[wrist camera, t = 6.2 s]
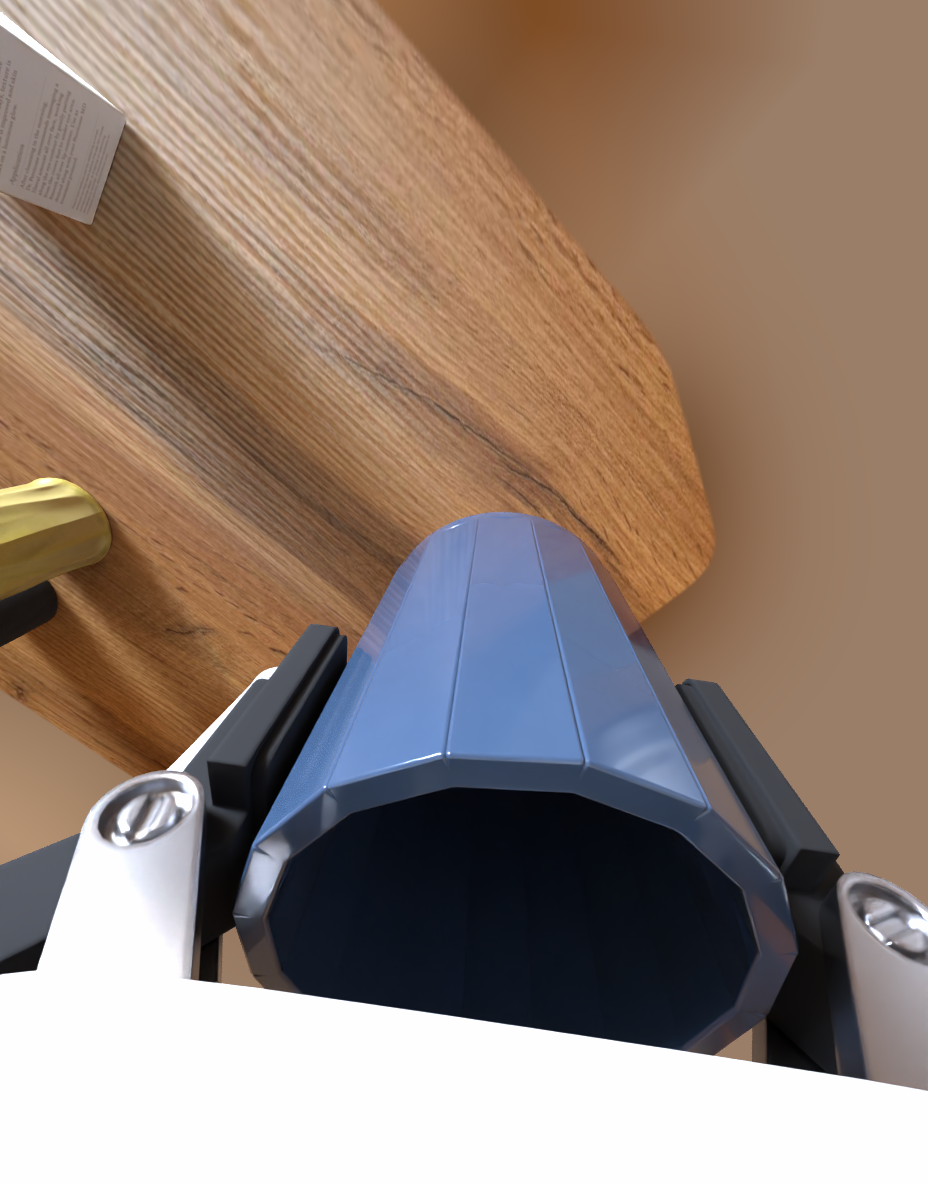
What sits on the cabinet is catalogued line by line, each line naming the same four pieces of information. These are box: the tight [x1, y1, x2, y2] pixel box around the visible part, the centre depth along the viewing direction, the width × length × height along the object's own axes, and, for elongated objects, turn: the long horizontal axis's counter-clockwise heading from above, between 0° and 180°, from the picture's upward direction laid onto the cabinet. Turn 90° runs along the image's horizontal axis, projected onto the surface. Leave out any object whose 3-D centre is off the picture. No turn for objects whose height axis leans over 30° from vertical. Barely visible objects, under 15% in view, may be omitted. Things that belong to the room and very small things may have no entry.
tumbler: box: [232, 512, 799, 1056], centre depth 10 cm, size 7×7×9 cm
